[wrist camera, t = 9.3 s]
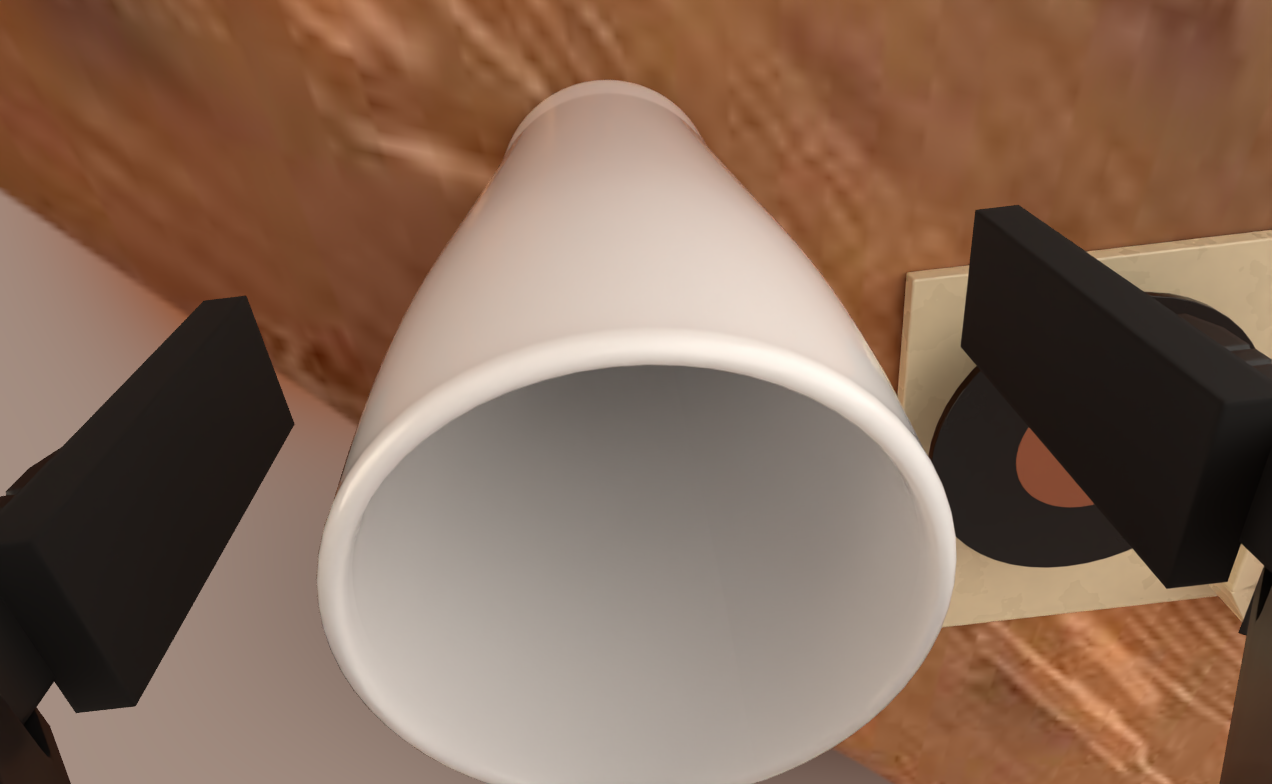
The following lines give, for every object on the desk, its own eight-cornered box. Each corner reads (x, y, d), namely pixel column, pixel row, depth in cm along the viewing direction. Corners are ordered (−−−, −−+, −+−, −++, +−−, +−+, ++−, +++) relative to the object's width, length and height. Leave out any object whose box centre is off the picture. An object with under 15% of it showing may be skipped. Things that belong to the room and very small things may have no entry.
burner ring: (942, 313, 21) (946, 318, 21) (1302, 271, 21) (1312, 276, 21) (915, 576, 26) (918, 584, 26) (1208, 543, 26) (1215, 550, 25)
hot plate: (905, 271, 23) (939, 311, 21) (1565, 194, 23) (1671, 226, 21) (879, 630, 31) (902, 688, 28) (1376, 574, 30) (1438, 628, 28)
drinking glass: (687, 327, 24) (811, 844, 11) (451, 266, 22) (273, 775, 9) (777, 90, 20) (1105, 431, 8) (506, 3, 19) (348, 236, 6)
